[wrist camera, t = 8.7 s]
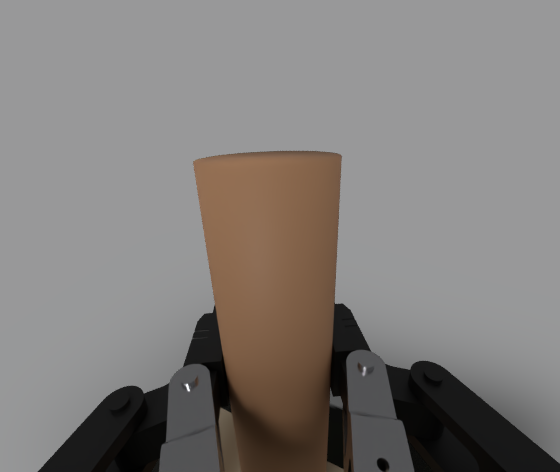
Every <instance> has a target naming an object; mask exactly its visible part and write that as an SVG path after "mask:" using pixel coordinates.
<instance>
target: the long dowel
mask: <svg viewBox="0 0 560 472" xmlns="http://www.w3.org/2000/svg"><path fill="white" fill-rule="evenodd" d="M341 158H342V156H341V155H340V154H337V153H330V152H318V151H270V152H251V153H237V154H227V155H218V156H212V157H206V158H201V159H198V160H195V161H194V162H193V164H194V171H195V177H196V184H197V190H198V196H199V203H200V209H201V216H202V222H203V229H204V236H205V242H206V248H207V255H208V260H209V268H210V274H211V281H212V287H213V293H214V300H215V307H216V313H217V320H218V326H219V333H220V339H221V346H222V352H223V358H224V365H225V371H226V378H227V384H228V391H229V397H230V404H231V410H232V417H233V423H234V430H235V436H236V443H237V449H238V456H239V462H240V468H241V472H326V464H327V444H328V423H329V403H330V383H331V362H332V342H333V321H334V301H335V279H336V260H337V239H338V219H339V199H340V178H341Z"/></svg>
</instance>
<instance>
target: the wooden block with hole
mask: <svg viewBox="0 0 560 472" xmlns="http://www.w3.org/2000/svg"><path fill="white" fill-rule="evenodd" d="M219 427H220V435H221V443H222V450H223V458H224V466H225V472H241V468H240V462H239V456H238V449H237V443H236V436H235V430H234V423H233V417H232V413H230V412H228V411H226V410H224V409H222V408H220V416H219ZM326 472H344V469H342V468H340V467H338V466H336V465H334V464H332V463H330V462H328V461H327V464H326Z"/></svg>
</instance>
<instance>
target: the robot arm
mask: <svg viewBox="0 0 560 472" xmlns="http://www.w3.org/2000/svg"><path fill="white" fill-rule="evenodd" d="M330 387H331V391H332V394H333V396H341V399H342V402H343V412H342V414H343V454H344V472H414V468H413V463H412V459H411V455H410V450H409V446H408V441H409V442H410V443H411V444H412V446H413V447H414V448H415V449H416V451H417V452H418V453H419V454H420V456H421V457H422V458H423V459H424V461H425V462H426V463H427V464H428V466H429V467H430V468H431V469H432V471H433V472H560V464H559V463H558V462H557V461H556V460H555V459H553V458H552V457H551V456H550V455H549V454H547V453H546V452H545V451H544V450H543V449H541V448H540V447H539V446H538V445H536V444H535V443H534V442H533V441H532V440H530V439H529V438H528V437H527V436H526V435H524V434H523V433H522V432H521V431H519V430H518V429H517V428H516V427H515V426H513V425H512V424H511V423H510V422H509V421H508V420H506V419H505V418H504V417H503V416H502V415H500V414H499V413H498V412H497V411H495V410H494V409H493V408H492V407H491V406H489V405H488V404H487V403H486V402H485V401H483V400H482V399H481V398H480V397H478V396H477V395H476V394H475V393H474V392H473V391H471V390H470V389H469V388H468V387H466V386H465V385H464V384H463V383H462V382H460V381H459V380H458V379H457V378H456V377H454V376H453V375H451V373H450V372H448V371H447V370H446V369H445V368H443V367H441V366H440V365H437V364H436V363H433V362H429V361H419V362H416V363H414V364H413V365H412V367H411V370H408V369H402V368H397V367H393V366H389V365H387V364H385V363H384V362H383V360H382V359H381V358H380V357H379V356H377V355H376V354H375V353H373V352H371V350H370V348H369V346H368V344H367V342H366V340H365V338H364V336H363V334H362V332H361V330H360V328H359V326H358V325H357V322H356V320H355V319H354V316H353V314H352V312H351V310H350V309H348V308H347V307H346V306H345V305H344V304H335V302H334V321H333V342H332V362H331V383H330ZM228 402H229V391H228V384H227V378H226V371H225V365H224V358H223V352H222V346H221V339H220V333H219V326H218V320H217V313H216V307H215V306H214V310H213V313H208V314H204V315H203V316H202V317H201V318H200V319H199V321H198V322H197V325H196V328H195V332H194V334H193V339H192V341H191V344H190V347H189V350H188V353H187V356H186V359H185V363H184V366H183V368H181V369H180V370H178V371H177V372H176V373H175V374H174V376H173V377H172V379H171V380H170V383H169V384H167V385H165V386H163V387H161V388H158V389H155V390H153V391H150V392H147V393H145V394H144V393H143V391H142V390H141V388H139V387H137V386H127V387H123V388H120V389H118V390H116V391H114V392H112V393H111V394H110V395H108V396H107V397H106V398H105V399H104V400H103V401H102V402H101V403H100V404H99V405H98V406H97V408H96V409H95V410H94V411H93V412H92V413H91V414H90V415H89V416H88V417H87V419H86V420H85V421H84V422H83V423H82V424H81V425H80V426H79V427H78V428H77V430H76V431H75V432H74V433H73V434H72V435H71V436H70V437H69V438H68V439H67V440H66V441H65V443H64V444H63V445H62V446H61V447H60V448H59V449H58V450H57V452H55V454H54V455H53V456H52V457H51V458H50V459H49V460H48V461H47V462H46V463H45V464H44V466H43V467H42V468H41V469H40V470H39V471H38V472H151V471H152V469H153V467H154V466H155V464H156V462H157V460H158V459H159V458H160V467H159V472H225V466H224V458H223V450H222V443H221V435H220V427H219V416H220V408H221V407H224V406H228ZM407 439H408V441H407Z"/></svg>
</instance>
